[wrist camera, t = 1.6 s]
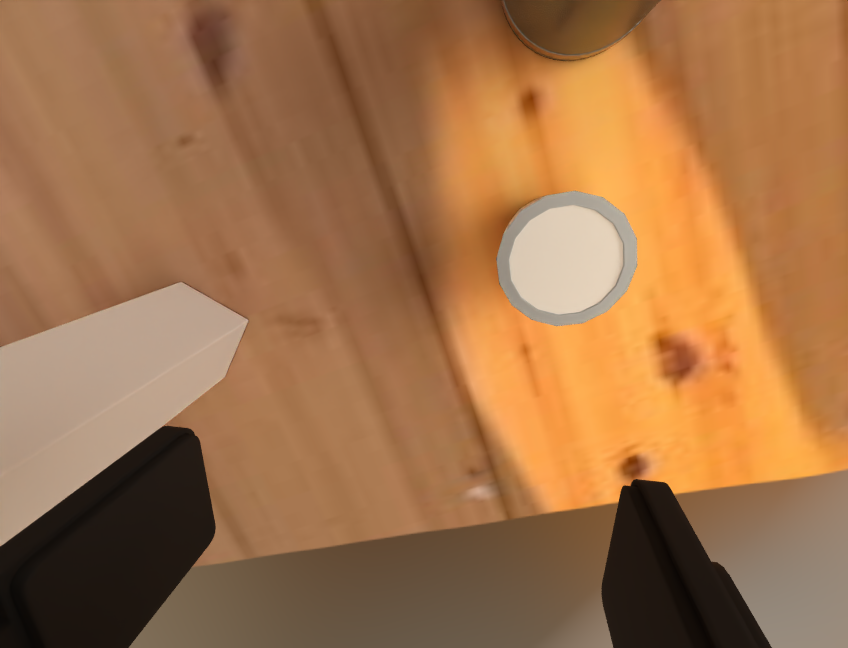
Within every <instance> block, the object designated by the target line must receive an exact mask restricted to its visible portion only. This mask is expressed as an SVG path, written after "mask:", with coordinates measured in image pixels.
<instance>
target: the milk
mask: <svg viewBox="0 0 848 648" xmlns="http://www.w3.org/2000/svg"><path fill="white" fill-rule="evenodd" d="M247 323H248V320H247V319H246V318H244V317H242V316H241V315H239V314H237V313H235V312H233V311H232V310H230V309H228V308H226V307H225V306H223V305H221V304H219V303H218V302H216V301H214V300H212V299H211V298H209V297H207V296H205V295H204V294H202V293H200V292H198V291H197V290H195V289H193V288H191V287H190V286H188V285H186V284H184V283H182V282H179V283H176V284H173V285H171V286H168V287H165V288H162V289H160V290H157V291H154V292H151V293H148V294H146V295H143V296H140V297H137V298H135V299H132V300H129V301H126V302H124V303H121V304H118V305H115V306H113V307H110V308H107V309H104V310H102V311H99V312H96V313H93V314H91V315H88V316H85V317H82V318H79V319H77V320H74V321H71V322H68V323H66V324H63V325H60V326H57V327H55V328H52V329H49V330H46V331H44V332H41V333H38V334H35V335H33V336H30V337H27V338H24V339H22V340H19V341H16V342H13V343H11V344H8V345H5V346H2V347H0V546H2V545H3V544H4V543H6V542H7V541H8V540H10V539H11V538H12V537H14V536H15V535H17V534H18V533H19V532H21V531H22V530H23V529H25V528H26V527H27V526H29V525H30V524H31V523H33V522H34V521H35V520H37V519H38V518H39V517H41V516H42V515H43V514H45V513H46V512H48V511H49V510H50V509H52V508H53V507H54V506H56V505H57V504H58V503H60V502H61V501H62V500H64V499H65V498H66V497H68V496H69V495H70V494H72V493H73V492H74V491H76V490H77V489H79V488H80V487H81V486H83V485H84V484H85V483H87V482H88V481H89V480H91V479H92V478H93V477H95V476H96V475H97V474H99V473H100V472H101V471H103V470H104V469H105V468H107V467H108V466H110V465H111V464H112V463H114V462H115V461H116V460H118V459H119V458H120V457H122V456H123V455H124V454H126V453H127V452H128V451H130V450H131V449H132V448H134V447H135V446H136V445H138V444H139V443H141V442H142V441H143V440H145V439H146V438H147V437H149V436H150V435H151V434H153V433H154V432H155V431H157V430H158V429H159V428H161V427H162V426H163V425H165V424H166V423H167V422H168V421H170V420H171V419H172V418H173V417H175V416H176V415H177V414H179V413H180V412H181V411H182V410H184V409H185V408H186V407H187V406H189V405H190V404H191V403H193V402H194V401H195V400H196V399H198V398H199V397H200V396H201V395H203V394H204V393H205V392H207V391H208V390H209V389H210V388H212V387H213V386H214V385H215V384H217V383H218V382H219V381H221V380H222V379H223V378H224V377H225V376H226V373H227V371H228V368H229V366H230V364H231V361H232V359H233V357H234V354H235V352H236V349H237V347H238V345H239V342H240V340H241V337H242V335H243V333H244V330H245V328H246V326H247Z"/></svg>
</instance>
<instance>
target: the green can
mask: <svg viewBox="0 0 848 648" xmlns="http://www.w3.org/2000/svg"><path fill="white" fill-rule="evenodd" d="M660 1H661V0H501V3H502V7H503V10H504V14H505V16H506V19H507V21H508V23H509V25H510V27H511V28H512V30H513V32H514V33H515V35H516V36H517V37H518V38H519V40H520V41H521V42H522V43H523V44H525V45H526V46H527V47H528V48H529V49H531V50H532V51H534V52H535V53H537V54H539V55H541V56H544V57H547V58H550V59H553V60H561V61H574V60H581V59H585V58H589V57H592V56H595V55H597V54H599V53H601V52H603V51H605V50H607V49H608V48H610V47H612V46H613V45H615V44H617V43H618V42H619V41H620V40H622V39H623V38H624V37H626V36H627V35H628V34H629V33H630V32H631V31H632V30H633V29H634V28H635V27H636V26H637V25H638V24H639V23H640V22H641V21H642V19H643V18H644V17H645V16H646V15H647V14H648V13H649V12H650V11H651V10H652V9H653V8H654V7H655V6H656V5H657V4H658V3H659V2H660Z"/></svg>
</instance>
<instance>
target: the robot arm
mask: <svg viewBox="0 0 848 648" xmlns="http://www.w3.org/2000/svg"><path fill="white" fill-rule="evenodd" d="M215 529H216V527H215V520H214V515H213V509H212V504H211V499H210V493H209V488H208V483H207V477H206V472H205V467H204V461H203V456H202V450H201V445H200V441H199V438H198V437H197V436H195V434H194V432H193V431H192V430H191V429H189V428H181V427H173V426H163V427H161V428H160V429H158V430H157V431H155V432H154V433H153V434H151V435H150V436H149V437H147V438H146V439H145V440H143V441H142V442H141V443H139V444H138V445H136V446H135V447H134V448H132V449H131V450H130V451H128V452H127V453H126V454H124V455H123V456H122V457H120V458H119V459H118V460H116V461H115V462H114V463H112V464H111V465H110V466H108V467H107V468H105V469H104V470H103V471H101V472H100V473H99V474H97V475H96V476H95V477H93V478H92V479H91V480H89V481H88V482H87V483H85V484H84V485H83V486H81V487H80V488H79V489H77V490H76V491H74V492H73V493H72V494H70V495H69V496H68V497H66V498H65V499H64V500H62V501H61V502H60V503H58V504H57V505H56V506H54V507H53V508H52V509H50V510H49V511H48V512H46V513H45V514H43V515H42V516H41V517H39V518H38V519H37V520H35V521H34V522H33V523H31V524H30V525H29V526H27V527H26V528H25V529H23V530H22V531H21V532H19V533H18V534H17V535H15V536H14V537H12V538H11V539H10V540H8V541H7V542H6V543H4V544H3V545H2V546H0V648H129V646H130V645H131V644H132V642H133V641H134V640H135V639H136V637H137V636H138V635H139V633H140V632H141V631H142V630H143V628H144V627H145V626H146V625H147V623H148V622H149V621H150V620H151V618H152V617H153V615H154V614H155V613H156V612H157V610H158V609H159V608H160V607H161V605H162V604H163V603H164V602H165V600H166V599H167V598H168V596H169V595H170V594H171V593H172V591H173V590H174V589H175V588H176V586H177V585H178V584H179V583H180V581H181V580H182V578H183V577H184V576H185V575H186V574H187V572H188V571H189V570H190V569H191V567H192V566H193V565H194V563H195V562H196V561H197V560H198V558H199V557H200V556H201V555H202V553H203V552H204V551H205V549H206V548H207V547H208V546H209V544H210V543H211V541H212V539H213V537H214V534H215ZM602 602H603V607H604V611H605V615H606V619H607V623H608V627H609V631H610V635H611V639H612V643H613V648H772V647H771V646H770V644H769V642H768V640H767V639H766V637H765V635H764V634H763V632H762V630H761V629H760V627H759V625H758V623H757V622H756V620H755V618H754V616H753V615H752V613H751V611H750V610H749V608H748V606H747V604H746V603H745V601H744V599H743V598H742V596H741V594H740V592H739V591H738V589H737V587H736V586H735V584H734V582H733V580H732V579H731V577H730V575H729V574H728V573H727V571H726V570H725V568H724V567H723V566H721V565H720V564H718V563H717V562H711V561H710V559H709V557H708V555H707V553H706V552H705V550H704V548H703V546H702V545H701V543H700V541H699V539H698V537H697V535H696V534H695V532H694V530H693V528H692V526H691V525H690V523H689V521H688V519H687V518H686V516H685V514H684V512H683V510H682V509H681V507H680V505H679V503H678V501H677V499H676V498H675V496H674V494H673V492H672V490H671V489H670V487H669V486H668V484H666V483H664V482H656V481H647V480H638V479H635V480H633V482H632V483H631V486H623V487H622V490H621V494H620V498H619V503H618V508H617V513H616V518H615V523H614V528H613V533H612V538H611V542H610V547H609V552H608V558H607V562H606V567H605V572H604V577H603V582H602Z"/></svg>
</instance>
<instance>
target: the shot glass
mask: <svg viewBox="0 0 848 648" xmlns="http://www.w3.org/2000/svg"><path fill="white" fill-rule="evenodd" d="M496 260H497V268H498V276H499V284H500V286H501V287H502V289H503V291H504V293H505V294H506V296H507V298H508V299H509V301H510V303H511V304H512V306H514V307H515V308H517V309H518V310H519V311H521V312H522V313H523V314H525V315H526V316H527V317H529V318H530V319H531V320H535V321H539V322H543V323H547V324H550V325H554V326H562V325H571V324H580V323H584V322H586V321H588V320H590V319H592V318H594V317H596V316H599V315H601V314H603V313H605V312H607V311H608V310H609V309H610V308H611V307H612V306H613V305H614V304H615V303H616V302H617V301H618V300H619V299H620V298H621V296H622V295H623V294H624V293H625V292H626V291H627V289H628V287H629V284H630V282H631V279H632V277H633V275H634V272H635V270H636V267H637V238H636V236H635V234H634V232H633V230H632V228H631V226H630V224H629V222H628V220H627V218H626V216H625V214H624V213H622V212H621V211H620V210H619V209H617V208H616V207H615V206H613V205H612V204H611V203H610V202H608V201H607V200H606V199H604V198H603V197H599V196H595V195H591V194H587V193H582V192H578V191H571V192H565V193H559V194H553V195H547V196H544V197H541V198H538V199H535V200H533V201H532V202H530V203H528V204H527V205H525V206H523V207H522V208H520V209H519V210H518V212H517V213H516V214H515V216H514V217H513V218H512V219H511V221H510V222H509V224H508V226H507V228H506V230H505V232H504V234H503V237H502V241H501V244H500V248H499V251H498V255H497V258H496Z"/></svg>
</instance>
